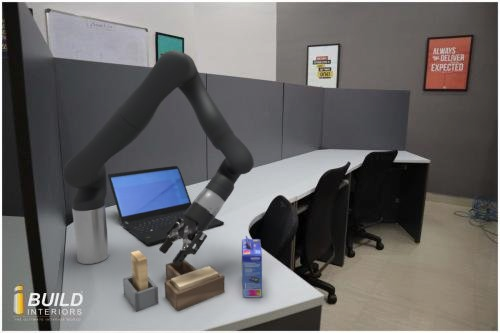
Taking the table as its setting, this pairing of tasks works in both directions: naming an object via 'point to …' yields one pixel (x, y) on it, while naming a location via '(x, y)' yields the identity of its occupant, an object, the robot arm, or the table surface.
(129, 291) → the holder
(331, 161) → the table surface
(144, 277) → the oak slat
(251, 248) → the ink cartridge box
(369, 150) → the table surface
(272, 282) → the table surface
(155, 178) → the laptop
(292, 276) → the table surface
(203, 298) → the tray
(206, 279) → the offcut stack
